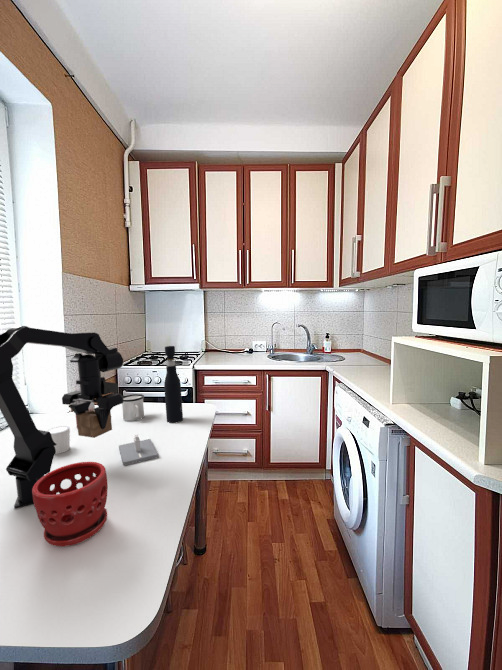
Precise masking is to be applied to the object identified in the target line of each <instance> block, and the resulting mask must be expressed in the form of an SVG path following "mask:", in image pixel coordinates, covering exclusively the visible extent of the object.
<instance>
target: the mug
mask: <svg viewBox="0 0 502 670" xmlns="http://www.w3.org/2000/svg"><path fill="white" fill-rule="evenodd" d="M122 396H123V403H122V404H121V409H122V419H123V421H126V422H135V421H134V420H136V421H138V419H139V420H142V419H143V418H144V417H145V410H144V409H145V407H144V398H145V395H144V394H142V393H135V394H133V393H132V394H128V395H127V394H126V395H122ZM141 418H142V419H141Z"/></svg>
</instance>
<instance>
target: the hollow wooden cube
mask: <svg viewBox="0 0 502 670" xmlns="http://www.w3.org/2000/svg"><path fill="white" fill-rule="evenodd" d="M77 425H78V428H77V433H78V434H77V435H78V436H79V437H87V438H92V439H93V438H97V437H99V436H102V435H104V434H106V433H108V432H110V431H112V430H113V424H112V414H111V411H110V413H109V416H108V420H107V423H106V427H105V428H104V429H101V427H100V425H99V422H98V419H97V416H96V413H95V410H94V409H92V410H90V411H85V412H84V413H81V414H79V415H77V424H76V426H77Z"/></svg>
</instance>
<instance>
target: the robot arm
mask: <svg viewBox="0 0 502 670" xmlns="http://www.w3.org/2000/svg"><path fill="white" fill-rule="evenodd" d="M27 344H32V345H33V344H34V345H45V346H55V347H61V348H66V349H67V350H68V351H69V350H70V351H73V352H76V353H75V354H74V356H73V357H71V358H70V360H69V361H70V363H77V370H78V377H79V378H78V379H77V380H75V384H76V385H79V387H80V388H79V389H80V390H75V391H70V392H68V393H64V394H63V396H62V398H61V402H62V405H68V408H70V409H71V411H73V412H74V414H75V416H76V415H79V414H81V413H84V412H85V411H89V409H88V408H89V406H90V404H91V402H94V404H95V403H96V404H97V407H95V408H94V410H95V413H96V416H97V419H98V422H99V425H100V427H101V429H104V428H105V427H106V423H107V420H108V416H109V413H110V412H111V410H112V409H113V408H114V407H116V406H120V405H122V403H123V396H124V395H122V394H121V393H118V388H119V383H116V382H109V381H106V377H105V376H101V373H106V372H110V371H113V370H114V371H115V370H118V369H121V368H122V367H123V365H124V357H123V355H122V354H121V353H120V352H119V351H118V348H117V347H110V348H108V347H107V345H106V343H104V341H103V340H102V338H101V335H100V334H99V333H97V332H64V331H63V332H61V331H54V330H47V329H42V328H33V327H30V326H26V325H14V326H11V327H9V328H7V329H6V330H5V331H3V332H2V333H0V413H1V414H2V416H3V418H4V420H5V422H6V424H7V425H8V427H9V429H10V431H11V433H12V436H13V451H14V456H13V458H12V459H11V461H10V462H9V463H8V465H7V466H6V468H5V470H6V473H8V475H9V476H13V477H15V484H16V486H15V487H16V493H17V494H16V495H17V497H16V500H15V503H14V504H13V507H14V509H17V508H21V507H24V506H29V505H32V504H33V505H34V502H33V495H32V488H33V486H34V484H35V483H36V482H37V481H38V480H39V479H40V478H42V477H43V476H44V475H46V474H48V473H50V472H51V469H52V464H53V460H54V456H56V454H55V453H56V450H55V447H54V446H55V445H57V444H56V443H55V442H54V441H53V439H52V436H51V433H50V432H48V430H42V429H38V428H37V426H36V424H35V422H34V420H33V418H32V416H31V414H30V412H29V410H28V407H27V406H26V404H25V402H24V400H23V397H22V396H21V394H20V392H19V390H18V387H17V386H16V383H15V382H14V380H13V379H14V378H13V373H14V363H13V361H12V359H13V358H15V357H16V356H17V355H19V354H20V352H21V351H22V350H23V348H24V346H25V345H27ZM83 353H84V354H83ZM43 494H44V493H43Z"/></svg>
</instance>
